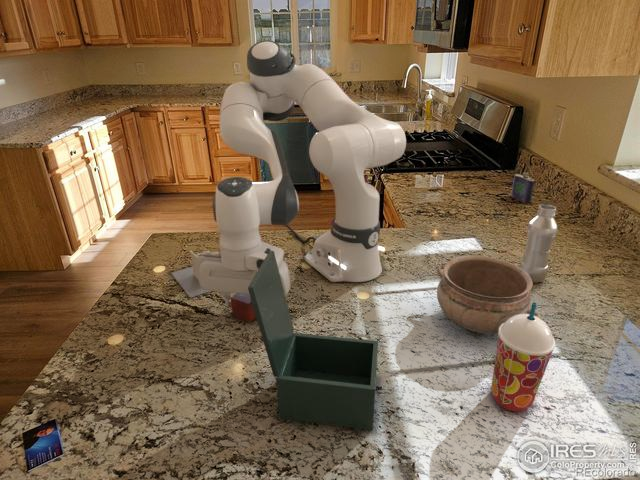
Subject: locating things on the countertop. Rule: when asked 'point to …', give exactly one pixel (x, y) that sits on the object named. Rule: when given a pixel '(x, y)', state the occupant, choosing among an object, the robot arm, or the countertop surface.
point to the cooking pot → (483, 292)
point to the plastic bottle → (539, 243)
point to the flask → (522, 188)
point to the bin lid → (271, 311)
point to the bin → (328, 381)
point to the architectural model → (190, 278)
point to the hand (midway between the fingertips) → (247, 307)
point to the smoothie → (521, 360)
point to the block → (242, 307)
